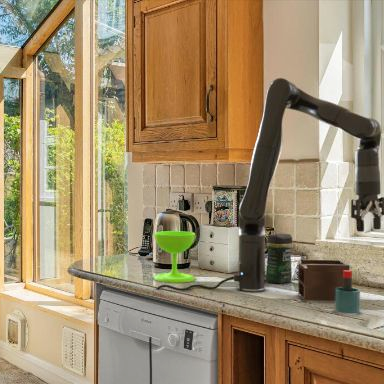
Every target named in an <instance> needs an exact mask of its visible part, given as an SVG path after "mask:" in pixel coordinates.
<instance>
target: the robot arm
mask: <svg viewBox="0 0 384 384" xmlns="http://www.w3.org/2000/svg"><path fill="white" fill-rule="evenodd" d="M265 95H266V96H265V100H264V107H263V114H262V118H261V122H260V126H259V130H258V135H257V138H256V141H255V145H254V148H253V152H252V156H251V161H250V169H249V179H248V183H247V187H246V189H245V192H244V195H243V197H242V200H241V201H240V203H239V205H238V262H237V272H235V273H233V276H231V277H228V278H225V279H223V280H221V281H220V282H218V283H217V284H216V285H215V286H206V285H203V284H190V285H189V286H187V287H181V288H180V287H175V286H172V285H169V284H161V285H159V286H157V287H156V290H157V291H158V290H160V289H162V288H168V289H172V290H174V291H180V292H184V291H188V290H191V289H192V288H203V289H207V290H215V289H218V288H219V287H221V285H222V284H224V283H225V282H229V281H232V280H233V282H235V283H237V289H238V291H241V292H250V293H251V292H263V291H265V290H266V283H267V280H266V210H267V202H268V197H269V191H270V187H271V183H272V181H273V178H274V176H275V173H276V171H277V167H278V164H279V161H280V157H281V155H282V154H281V153H282V151H283V145H284V143H283V141H284V139H283V138H284V137H283V136H284V135H283V119H284V115H285V111H286V109H288V110H292V111H297V112H300V113H303V114H306V115H308V116H310V117H312V118H314V119H315V120H318V121H320V122H322V123H323V124H326V125H328V126H331V127H333V128H336V129H338V130H340V131H343V132H344V133H347V135H350V136H351V137H354V138H355V139H358V148H357V149H356V150H355V154H354V157H355V158H354V159H355V168H354V169H355V171H354V188H355V189H354V190H355V191H354V194H355V195H356V196H357V197H358V198H352V199H351V200H350V218H351V219H354V220H355V229H356V231H357V232H359V233H360V232H361V233H363V232H365V217H366V215H368V213H370V214H371V216H372V224H373V225H372V226H373V227H372V228H373V230H381V228H382V217H383V216H384V196H380V195H381V191H382V190H381V169H380V154H379V151H380V145H381V141H382V140H381V138H382V127H381V124H380V122H379V121H378V120H376V119H375V118H373V117H366V116H363V115H360V114H357V113H355V112H353V111H352V110H350V109H349V108H347V107H344V106H343V105H342V106H341V105H339V104H337V103H334V102H331V101H328V100H324V99H322V98H318V97H316V96H313V95H311V94H309V93H307V92H305V91H304V90H302V89H300V88H299V87H298V86H297V85H296V84H295V83H293V82H291V81H289V80H288V79H286V78H283V77H277V78H275V79H273V80H272V81H271V83H269V85H268V87H267V90H266V93H265ZM148 347H149V349H148V350H149V351H148V352H149V354H148V355H149V384H153V355H152V353H153V352H152V336H148Z"/></svg>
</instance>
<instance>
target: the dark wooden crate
mask: <svg viewBox="0 0 384 384" xmlns="http://www.w3.org/2000/svg"><path fill="white" fill-rule="evenodd" d="M343 270H350V264H349V263H346V262H345V261H343V260H341V259H300V262H298V271H297V272H298V276H297V277H298V278H297V281H298V282H297V283H298V284H297V288H298V289H297V295H298V296H299V297H301V298H302V299H303V301H318V302H319V301H320V302H321V301H323V302H329V301H330V302H335V288H338V287H343Z"/></svg>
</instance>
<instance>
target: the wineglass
mask: <svg viewBox="0 0 384 384" xmlns="http://www.w3.org/2000/svg"><path fill="white" fill-rule="evenodd" d="M153 234H154V240H155V242H156V244H157V246H158V247H159V249H161V250H163V251H164V252H166V253H168V254H171V270H170V271H169V272H163V273H158V274H156V275H155V276H154V277H153V279H154V280H155V281H158V282H162V283H171V284H173V283H175V284H178V283H179V284H180V283H182V284H183V283H189V282H194V281H195V280H196V279H195V276H193V275H192V274H189V273H182V272H179V270H178V254H182V253H184V252H186V251H187V250H189V249H190V248H191V246H192V245H193V244H194V241H195V237H196V233H195V232H192V231H184V230H183V231H181V230H166V231H163V230H162V231H156V232H154V233H153Z"/></svg>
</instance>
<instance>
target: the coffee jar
mask: <svg viewBox="0 0 384 384" xmlns="http://www.w3.org/2000/svg"><path fill="white" fill-rule="evenodd" d="M266 246H267V258H266V259H267V260H266V261H267V262H266V270H265V280H266V282H268V283H271V284H286V283H290V282H292V279H293V274H292V247H293V237H292V235H291V234H289V233H282V232H278V233H269V235H267V237H266Z"/></svg>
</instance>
